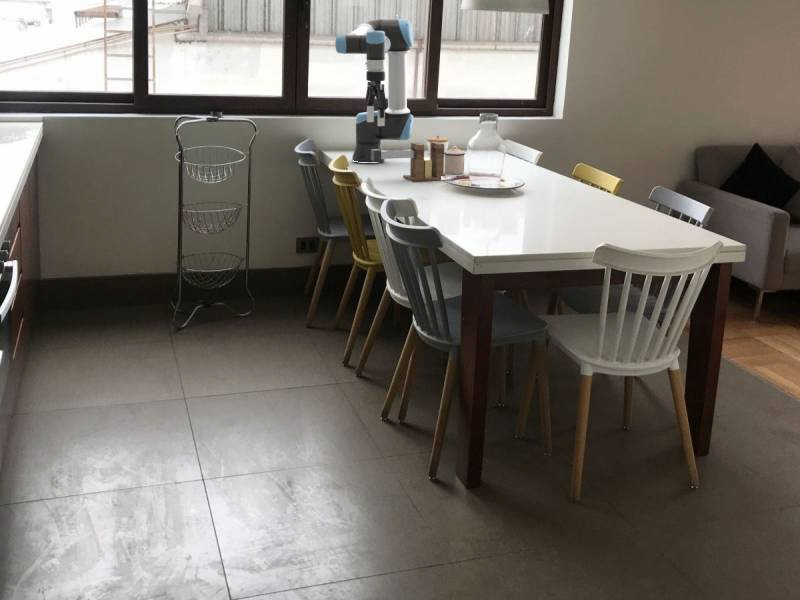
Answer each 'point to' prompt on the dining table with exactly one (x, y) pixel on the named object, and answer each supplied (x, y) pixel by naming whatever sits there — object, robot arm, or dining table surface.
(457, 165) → the teacup with lid
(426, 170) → the block
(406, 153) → the shaft
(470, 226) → the dining table surface
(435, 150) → the wooden pillar stand
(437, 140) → the lidded jar
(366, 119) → the robot arm
